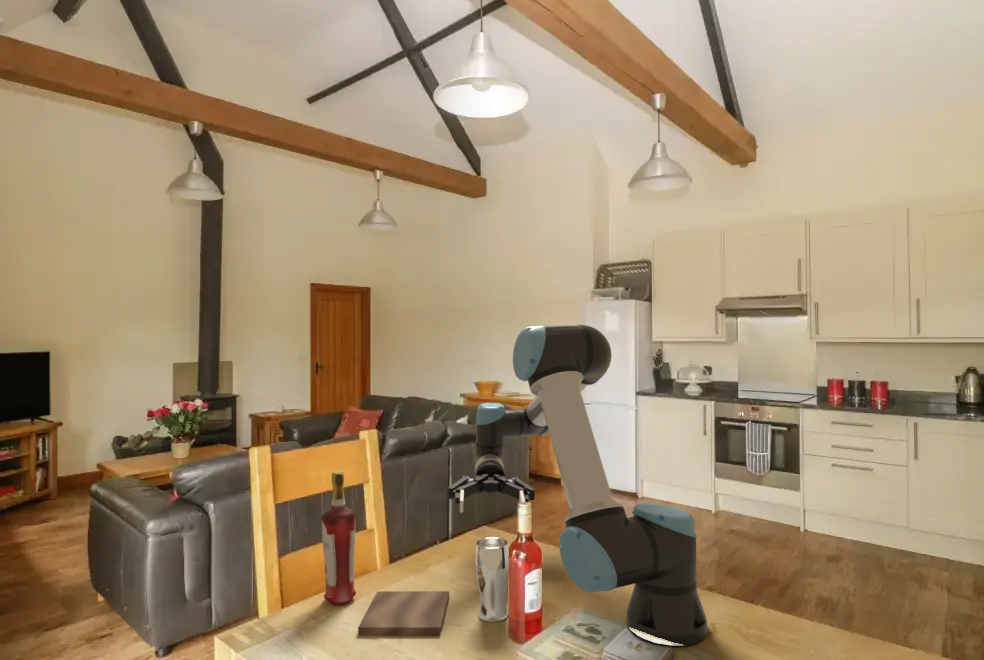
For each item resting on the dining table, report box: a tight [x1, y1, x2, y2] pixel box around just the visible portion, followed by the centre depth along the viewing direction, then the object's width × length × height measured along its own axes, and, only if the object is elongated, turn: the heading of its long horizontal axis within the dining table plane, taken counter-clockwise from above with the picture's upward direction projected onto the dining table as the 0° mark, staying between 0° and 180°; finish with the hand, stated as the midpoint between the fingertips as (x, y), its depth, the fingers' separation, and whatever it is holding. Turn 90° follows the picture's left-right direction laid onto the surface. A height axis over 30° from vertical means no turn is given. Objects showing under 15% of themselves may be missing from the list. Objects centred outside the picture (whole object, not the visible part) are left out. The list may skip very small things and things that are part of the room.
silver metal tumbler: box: [475, 536, 510, 623], centre depth 122 cm, size 7×7×15 cm
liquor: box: [321, 471, 357, 606], centre depth 130 cm, size 7×7×28 cm
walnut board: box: [357, 590, 450, 636], centre depth 122 cm, size 16×16×2 cm
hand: (492, 507), depth 130 cm, fingers open, 13 cm apart
